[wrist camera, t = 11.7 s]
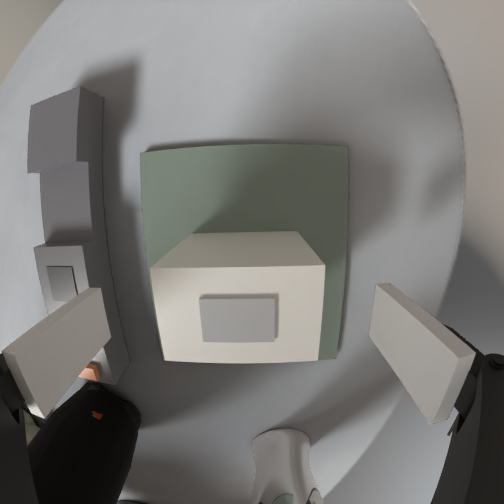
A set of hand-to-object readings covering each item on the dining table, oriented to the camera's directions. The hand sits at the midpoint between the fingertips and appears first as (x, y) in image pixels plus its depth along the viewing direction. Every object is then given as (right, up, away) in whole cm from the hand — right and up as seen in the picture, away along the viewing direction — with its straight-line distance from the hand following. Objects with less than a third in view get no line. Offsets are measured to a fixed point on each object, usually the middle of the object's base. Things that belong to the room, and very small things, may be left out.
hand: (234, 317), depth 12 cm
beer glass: (+4, -17, +12) cm, 21 cm away
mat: (0, +2, +7) cm, 8 cm away
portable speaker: (-14, -14, +12) cm, 23 cm away
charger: (0, +2, +7) cm, 7 cm away
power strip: (-13, +4, +7) cm, 15 cm away
